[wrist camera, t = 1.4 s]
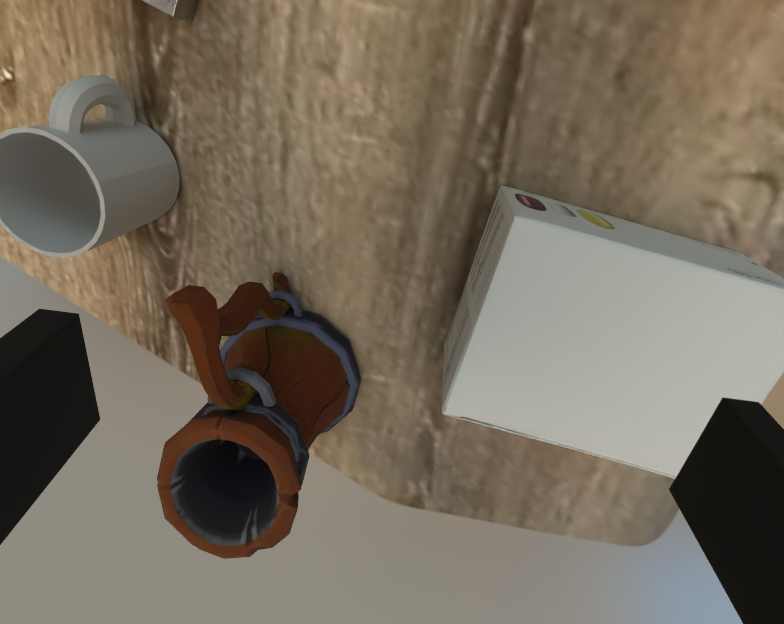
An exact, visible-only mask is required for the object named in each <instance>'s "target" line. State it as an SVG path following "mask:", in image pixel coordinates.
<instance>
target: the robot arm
mask: <svg viewBox="0 0 784 624" xmlns="http://www.w3.org/2000/svg"><path fill="white" fill-rule="evenodd" d="M99 420H100V416H99V412H98V406H97V402H96V397H95V392H94V387H93V382H92V377H91V372H90V367H89V362H88V357H87V353H86V347H85V342H84V338H83V333H82V328H81V323H80V318H79V314H76V313H68V312H60V311H52V310H44V309H39V310H37V311H36V312H35V313H33V314H32V315H31V316H29V317H28V318H27V319H25V320H24V321H23V322H21V323H20V324H19V325H18V326H16V327H15V328H13V329H12V330H11V331H9V332H8V333H7V334H5V335H4V336H3V337H1V338H0V545H1V543H2V542H3V541H4V540H5V538H6V537H7V536H8V535H9V533H10V532H11V531H12V530H13V528H14V527H15V526H16V524H17V523H18V522H19V521H20V519H21V518H22V517H23V516H24V514H25V513H26V512H27V511H28V509H29V508H30V507H31V506H32V504H33V503H34V502H35V501H36V499H37V498H38V497H39V495H40V494H41V493H42V492H43V491H44V489H45V488H46V487H47V485H48V484H49V483H50V482H51V481H52V479H53V478H54V477H55V475H56V474H57V473H58V472H59V470H60V469H61V468H62V467H63V465H64V464H65V463H66V462H67V460H68V459H69V458H70V457H71V455H72V454H73V453H74V452H75V450H76V449H77V448H78V447H79V445H80V444H81V443H82V442H83V440H84V439H85V438H86V437H87V435H88V434H89V432H91V430H92V429H93V428H94V427H95V425H96V424H97V423H98V422H99ZM669 490H670V492H671V494H672V496H673V497H674V499H675V501H676V503H677V505H678V507H679V508H680V510H681V512H682V514H683V516H684V517H685V519H686V521H687V523H688V525H689V526H690V528H691V530H692V532H693V534H694V535H695V537H696V539H697V541H698V542H699V544H700V546H701V548H702V550H703V552H704V553H705V555H706V557H707V559H708V560H709V562H710V564H711V566H712V567H713V570H714V572H715V573H716V575H717V577H718V579H719V580H720V582H721V584H722V586H723V588H724V590H725V591H726V593H727V595H728V597H729V599H730V600H731V602H732V604H733V606H734V608H735V609H736V611H737V613H738V615H739V617H740V619H741V620H742V622H743V624H784V429H783V428H782V427H781V426H780V425H779V424H778V423H777V422H776V421H775V419H774V418H773V417H772V416H771V415H770V414H769V413H768V412H767V411H766V410H765V409H764V408H763V406H762V405H761V404H760V403H759V402H754V401H746V400H739V399H731V398H722V399H721V401H720V403H719V404H718V406H717V408H716V410H715V411H714V413H713V415H712V416H711V418H710V420H709V422H708V423H707V425H706V427H705V428H704V430H703V432H702V434H701V435H700V437H699V439H698V441H697V442H696V444H695V446H694V447H693V449H692V451H691V453H690V454H689V456H688V458H687V459H686V461H685V463H684V465H683V466H682V468H681V470H680V472H679V473H678V475H677V477H676V478H675V480H674V482H673V484H672V485H671V487H670V489H669Z"/></svg>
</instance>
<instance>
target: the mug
mask: <svg viewBox="0 0 784 624" xmlns="http://www.w3.org/2000/svg"><path fill="white" fill-rule="evenodd" d="M272 277H273V281H274V291H272V292H268V291H267V290H266V288H265V287H264V286H263V284H262V283H256V282H247V283H245V284H242V285H239V286H238V288H237V289H236V291H235V292H234V294H233V295H232V297H231V298H230V299H229V301H228V302H227V303H226V304H225V305H224V306H222V307H221V308H219V309H217V303H216V299H215V298H214V297H213V296H212V295H211V294H210V293H209V292H208V291H207V290H206V289H205V288H204V287H199V286H190V285H188V286H186V287H185V288H183V289H181V290H179V291H177V292H175V293H173V294H172V295H171V296H169V297H168V298H167V299H166V301H167V304H168V306H169V309H170V311H171V313H172V314H173V316H174V317H175V318H176V320H177V321H178V322H179V324H180V325H181V327H182V329H183V331H184V334H185V336H186V339H187V341H188V344H189V347H190V349H191V352H192V355H193V359H194V362H195V365H196V368H197V371H198V374H199V377H200V380H201V382H202V385H203V388H204V390H205V391H206V393H207V394H208V403H207V404H206V405H205V406H204V407H203V408H202V409H201V410H200V411H199V412H198V413H197V414H196V415H195V416H194V417H193V418H192V419H191V420H190V421H189V423H188V424H186V425H185V426H184V427H183V428H182V429H181V430H179V431H178V432H177V433H176V434H175V435H174V436H172V437H171V438H170V439H169V440H168V441H167V442H165V445H164V450H163V454H162V458H161V463H160V467H159V472H158V477H157V480H158V485H157V487H158V491H159V495H160V499H161V503H162V508H163V512H164V516H165V519H166V520H167V521H168V522H169V523H170V524H172V526H173V527H174V528H176V529H177V530H178V531H179V532H180V533H181V534H182V535H183V536H184V537H185V538H186V539H187V540H188V541H189V542H190V543H191V544H192V545H194V546H196V547H198V548H199V549H200V550H203V551H205V552H208V553H211V554H213V555H216V556H218V557H221V558H239V557H250V556H251V555H252V554H254V553H255V552H256V551H257V550H260V549H266V548H272V547H274V546H275V545H276V544H277V543H278V542H280V541H281V540H282V539H284V538H285V537H286V536H287V535H288V534H289V533H290V530H291V527H292V524H293V521H294V518H295V515H296V512H297V507H298V491H300V490H301V486H302V483H303V479H304V475H305V471H306V467H307V463H308V459H309V453H308V449H309V447H310V446H311V444H312V443H313V441H314V440H315V438H316V437H317V436H318V435H319V434H321V433H323V432H327V431H329V430H330V429H331V428H332V427H333V426H335V425H336V424H337V423H338V422H339V421H340V420H342V419H343V418H344V417H345V416H346V415H347V414H349V413H350V412H351V411H352V409H353V407H354V403H355V399H356V396H357V392H358V388H359V384H360V379H361V378H360V374H359V371H358V368H357V365H356V361H355V358H354V355H353V351H352V348H351V345H350V342H349V340H348V339H347V338H345V337H344V336H343V335H342V334H341V333H340V332H339V331H338V330H336V329H335V328H334V327H333V326H332V325H331V324H330V323H329V322H327V321H326V320H325V319H324V318H323V317H322V316H321V315H318V314H314V313H310V312H306V311H302V309H301V307H300V305H299V302H298V300H297V299H296V298H294V297H293V296H292V295H291V294H290V289H289V285H288V280H287V277H286V276H284V275H283V274H282V273H276V272H275V273H274V275H273V276H272ZM291 305H292V307H293V308H289V307H290V306H291ZM221 336H230V338H229V339H228V340H227V341H226V343H225V344H224V345H223V346H222V348H221V351H220V350H219V344H220V340H221Z"/></svg>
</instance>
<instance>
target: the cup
mask: <svg viewBox="0 0 784 624" xmlns="http://www.w3.org/2000/svg"><path fill="white" fill-rule="evenodd" d="M99 104H103V105H106V107H107V119H98V120H88V121H84V117H85V115H86V113H87V112H88V111H89V110H90V109H91V108H93V107H94V106H96V105H99ZM179 188H180V180H179V171H178V167H177V163H176V160H175V158H174V156H173V154H172V152H171V150H170V148H169V147H168V145H167V144H166V143H165V142H164V140H163V139H162V138H161V137H160V136H159V135H158V134H157V133H156V132H154V131H153V130H152V129H151V128H149V127H148V126H146V125H144V124H142V123H140V122H138V121H136V120H135V107H134V102H133V100H132V98H131V96H130V93H129V92H127V91H126V90H125V89H124V88H123V87H122V86H121V85H120V84H118V83H117V82H116V81H115V80H114V79H111V78H109V77H106V76H95V75H92V76H84V77H79V78H76V79H73V80H70V81H69V82H67V83H66V84H65V85H63V86H62V87H61V88H60V89H59V90H58V92H57V94H56V95H55V97H54V98H53V100H52V103H51V107H50V111H49V120H48V125H39V126H29V127H19V128H10V129H8V130H6V131H3V132H1V133H0V225H1V226H2V227H3V228H4V229H5V230H6V231H7V232H8V233H9V234H10V235H11V236H12V237H13V238H15V239H16V240H17V241H19V242H20V243H22V244H23V245H24V246H26V247H27V248H29V249H32V250H34V251H36V252H38V253H40V254H43V255H47V256H52V257H57V258H61V257H73V256H76V255H79V254H81V253H84V252H86V251H88V250H91V249H93V248H95V247H97V246H99V245H102V244H104V243H106V242H108V241H110V240H112V239H115V238H117V237H119V236H121V235H123V234H126V233H128V232H130V231H132V230H134V229H136V228H139V227H141V226H143V225H145V224H147V223H150V222H152V221H154V220H156V219H158V218H160V217H161V216H163V215H164V214H165V213H166V212H167V211H169V210H170V209H171V207H172V206H173V204H174V203H175V201H176V199H177V195H178V192H179Z"/></svg>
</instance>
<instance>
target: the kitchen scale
mask: <svg viewBox="0 0 784 624" xmlns="http://www.w3.org/2000/svg"><path fill="white" fill-rule="evenodd" d="M141 1H143V2H145V3H147V4H149V5H151V6H153V7H155V8H157V9H159V10H160V11H162V12H164V13H166V14H168V15H170V16H172V17H175V18H179V19H183V20H188V21H192V20H193V16H194V13H195V9H196V5H197V1H198V0H141Z"/></svg>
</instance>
